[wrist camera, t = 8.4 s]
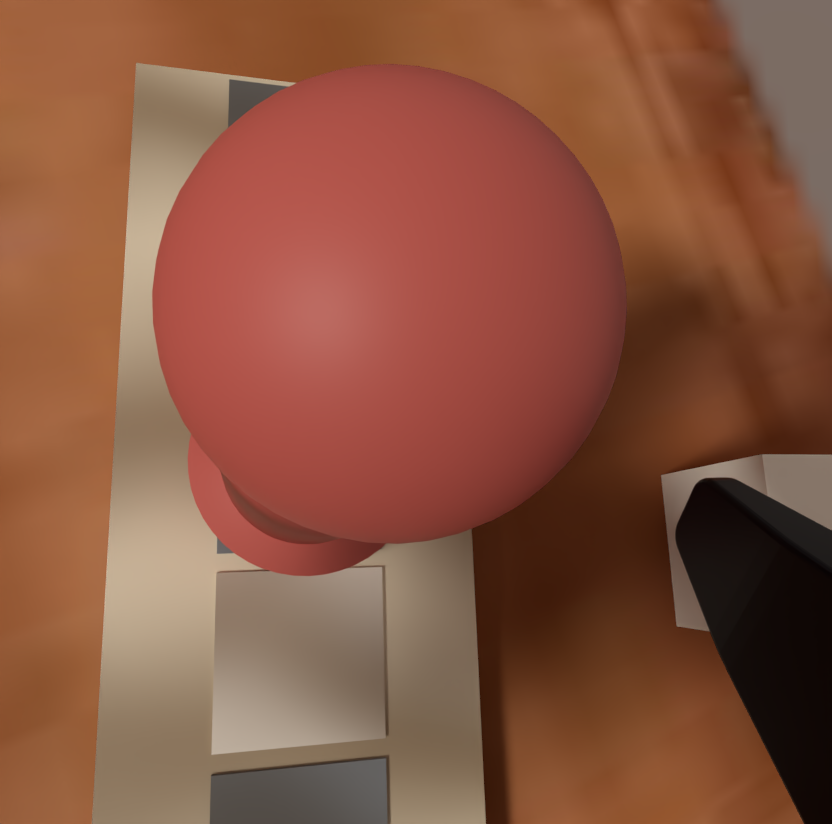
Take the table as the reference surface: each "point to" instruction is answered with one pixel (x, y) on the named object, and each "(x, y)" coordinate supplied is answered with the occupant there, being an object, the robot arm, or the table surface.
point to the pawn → (383, 315)
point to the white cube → (767, 473)
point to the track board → (260, 599)
